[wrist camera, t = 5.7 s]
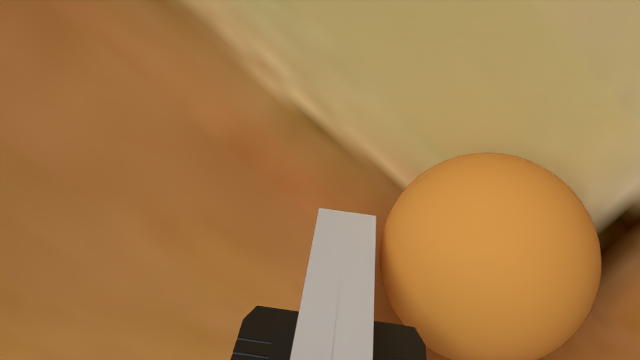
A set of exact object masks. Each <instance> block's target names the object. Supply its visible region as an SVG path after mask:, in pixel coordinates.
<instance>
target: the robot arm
mask: <svg viewBox="0 0 640 360" xmlns="http://www.w3.org/2000/svg"><path fill="white" fill-rule="evenodd" d="M375 240H376V216H373V215H365V214H358V213H351V212H344V211H336V210H329V209H322V208H319V211H318V216H317V222H316V227H315V232H314V237H313V242H312V248H311V253H310V258H309V263H308V268H307V274H306V279H305V284H304V289H303V294H302V300H301V305H300V310H299V312H297V311H290V310H284V309H277V308H270V307H263V306H256V307H255V308H254V309H253V310H252V311H251V312H250V313H249V314H248V315H247V316H246V317H245V318H244V319H243V321H242V325H241V328H240V331H239V334H238V338H237V341H236V344H235V347H234V350H233V355H232V356H231V360H427V358H426V347H425V343H424V342H423V340H422V338H421V337H420V335H419V333H418V332H417V330H416V329H415V327H411V326H404V325H398V324H391V323H384V322H377V321H374V283H375Z"/></svg>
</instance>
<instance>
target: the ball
mask: <svg viewBox="0 0 640 360" xmlns="http://www.w3.org/2000/svg"><path fill="white" fill-rule="evenodd" d="M380 270H381V275H382V280H383V285H384V288H385V291H386V294H387V297H388V299H389V301H390V303H391V305H392V307H393V309H394V311H395V313H396V314H397V316H398V317H399V319H400V320H401V322H402V323H403V324H404V325H405V326H411V327H415V329H416V330H417V332H418V333H419V335H420V337H421V338H422V340H423V342H424V343H425V346H427V347H428V348H430V349H431V350H433V351H434V352H436V353H438V354H440V355H442V356H444V357H446V358H448V359H451V360H538V359H540V358H542V357H544V356H546V355H548V354H550V353H551V352H553V351H555V350H556V349H558V348H559V347H560V346H562V345H563V344H564V343H565V342H567V341H568V340H569V339H570V338H571V337H572V336H573V335H574V334H575V332H576V331H577V330H578V329H579V328H580V327H581V325H582V324H583V322H584V321H585V319H586V317H587V316H588V314H589V312H590V311H591V309H592V307H593V304H594V301H595V298H596V295H597V292H598V288H599V284H600V278H601V252H600V244H599V240H598V236H597V233H596V230H595V227H594V224H593V222H592V219H591V217H590V215H589V214H588V212H587V210H586V208H585V207H584V205H583V204H582V202H581V201H580V199H579V198H578V197H577V196H576V194H575V193H574V192H573V191H572V190H571V189H570V188H569V187H568V186H567V185H566V184H565V183H564V182H563V181H562V180H560V179H559V178H558V177H557V176H555V175H554V174H552V173H551V172H549V171H548V170H546V169H544V168H542V167H540V166H538V165H536V164H534V163H532V162H530V161H528V160H525V159H522V158H519V157H515V156H510V155H505V154H495V153H478V154H469V155H463V156H458V157H455V158H452V159H449V160H446V161H444V162H442V163H440V164H438V165H436V166H434V167H432V168H430V169H429V170H427V171H426V172H424V173H423V174H421V175H420V176H419V177H417V178H416V179H415V180H414V181H413V182H412V183H411V184H410V185H409V186H408V187H407V188H406V189H405V190H404V191H403V193H402V194H401V195H400V196H399V198H398V199H397V201H396V202H395V204H394V205H393V207H392V209H391V212H390V214H389V216H388V218H387V220H386V223H385V227H384V230H383V233H382V238H381V245H380Z"/></svg>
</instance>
